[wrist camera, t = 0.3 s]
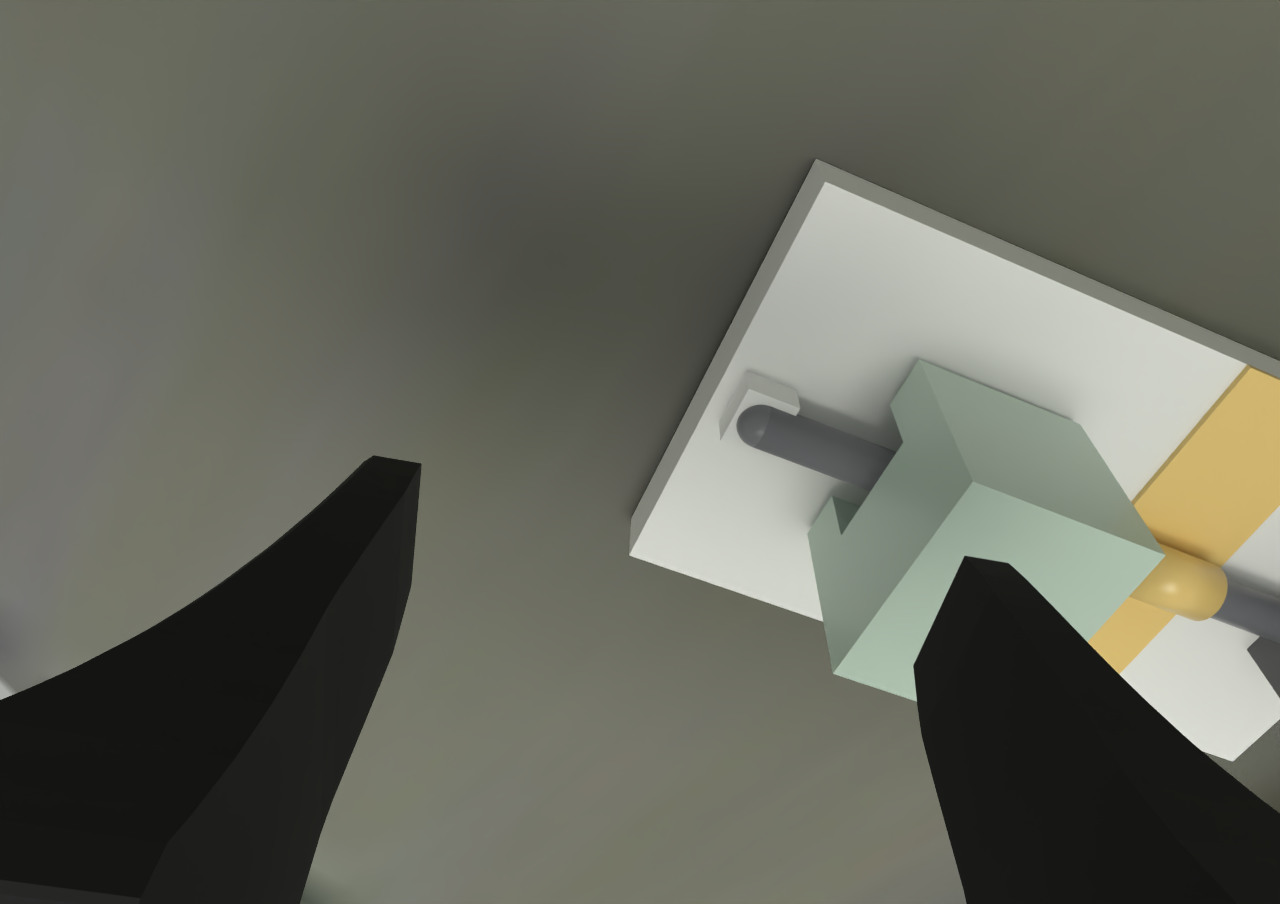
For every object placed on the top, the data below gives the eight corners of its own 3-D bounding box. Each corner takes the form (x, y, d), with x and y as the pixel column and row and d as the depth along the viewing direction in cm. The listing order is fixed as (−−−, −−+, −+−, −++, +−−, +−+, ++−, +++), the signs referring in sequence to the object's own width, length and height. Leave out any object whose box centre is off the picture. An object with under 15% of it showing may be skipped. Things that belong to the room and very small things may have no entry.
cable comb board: (1489, 453, 24) (1618, 556, 21) (1208, 719, 29) (1276, 836, 26) (815, 158, 21) (842, 225, 17) (631, 518, 26) (625, 622, 22)
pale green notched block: (1080, 424, 22) (1165, 554, 18) (954, 587, 24) (1007, 731, 21) (919, 359, 21) (972, 481, 17) (807, 534, 24) (832, 673, 20)
